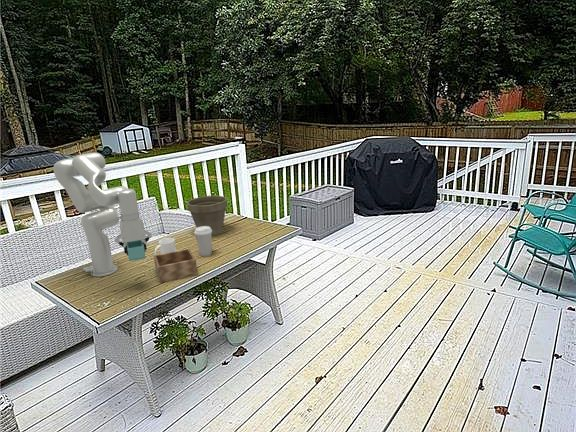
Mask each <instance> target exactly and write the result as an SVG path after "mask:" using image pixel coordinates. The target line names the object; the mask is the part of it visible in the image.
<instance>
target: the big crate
mask: <svg viewBox="0 0 576 432" xmlns="http://www.w3.org/2000/svg"><path fill="white" fill-rule="evenodd" d="M153 261H154V266H155V272H156V274H157V277H158V282H159V283H160V284H161V283H164V282H169V281H174V280H178V279H182V278H183V279H184V278H187V277H191V276H195V275H198V266H197V259H196V258H195V256H194V254H193V252H192V251H191V249H190V248H187V249H186V248H185V249H181V250H176V251H175V252H170V253H165V254H161V253H160V254H158V255H155V254H154V255H153Z"/></svg>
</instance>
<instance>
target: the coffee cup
mask: <svg viewBox="0 0 576 432" xmlns="http://www.w3.org/2000/svg"><path fill="white" fill-rule="evenodd" d="M211 232H212V230H211V228H210V227H209V226H201V227H198V228H196V227H195V230H194V235H195V238H196V241H197V246H198V253H199V255H200V256H202V257H207V256H211V255H212V253H213V252H212V251H213V249H212V246H213V245H212V236H211Z"/></svg>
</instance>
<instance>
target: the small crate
mask: <svg viewBox="0 0 576 432" xmlns="http://www.w3.org/2000/svg"><path fill="white" fill-rule="evenodd" d="M126 246H127V251H128V255H127V256H128V260H129V262H132V261H133V262H134V261H138V260H139V261H140V260H142V259H143V260H144V259H146V258H147V257H146V252H145V250H144V245H143V242H142V240H139V241H134V242H127V245H126Z"/></svg>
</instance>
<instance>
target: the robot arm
mask: <svg viewBox="0 0 576 432" xmlns="http://www.w3.org/2000/svg"><path fill="white" fill-rule="evenodd" d="M106 165H107V164H106V159H105V157H104V156H103V155H102V154H101V153H99V152H89V153H83V154H79V155H76V156H74V157H70V158H65V159H61V160H58V161H57V162H56V163H54V165H53V174H54V177H55V179H56V180H57V182H58V183H59V184H60V185H61V186H62V187H63V189H64V190H65V192H66V193H67V195H68V197H69V198H70V200H71V201H72V204H73V206H74V207H75V208H76V210H77V211H78V212H79V213H81V214H83V213H87V214H85V215H84V216H83V217H81V227H82V230H83V232H84V233H85V236H86V241H87V244H88V245H87V246H88V249H89V254H90V259H91V264H90V265H89V266H85V267H83V268H82V269H83V272H86V273H88V272H90V275H91V276H92V277H96V278H97V277H100V278H101V277H107V276H109V275H112V274H114V273H115V272H117V270H118V265H116V264H114V260H113V256H112V250H111V245H110V240H109V237H108V235H107V234H106V233H104V231H103V230H105V229H108V228H111V227H114V226H116V225H118V223H119V226H120V229H119V230H120V233H119V234H118V235H117V236H116V238H114V242H115V243H117V244H118V245H119V246H121V247H122V248H123V251H124V254H126V256H128V251H127V246H126V245H127V242H134V241H139V240H142V242H143V245H144V250H145V253H146V251H147V250H148V249H147V248H148V247H147V243H148V242H149V240H150V239H151V237H152V235H153V233H152V232H150V231H148V230H146V229H145V226H144V222H143V219H142V217H141V216H140V212H139V205H138V201H137V200H138V199H137V193H136V191H135V189H133V188H127V187H126V186H122V185H121V186H114V187H110V188H106V189H103V190H102V189H101V188H100V187H99V186H100V185H102V184H103V183H104V182H105V180H106V177H107V173H106V171H105V170H104V168H105V167H106ZM79 175H80V176H81V177H83V178H84V180H85V181H87V182H88V184H87V188H86V185H85V184H84V183H83V182H82V181H80V180H79V179H78V178H76V177H74V176H79ZM115 205H118V206H119V212H120V213H118V211H117V210H116V208H115ZM88 212H90V213H88ZM118 214H120V215H118ZM119 221H120V222H119ZM146 235H147V236H146Z"/></svg>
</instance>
